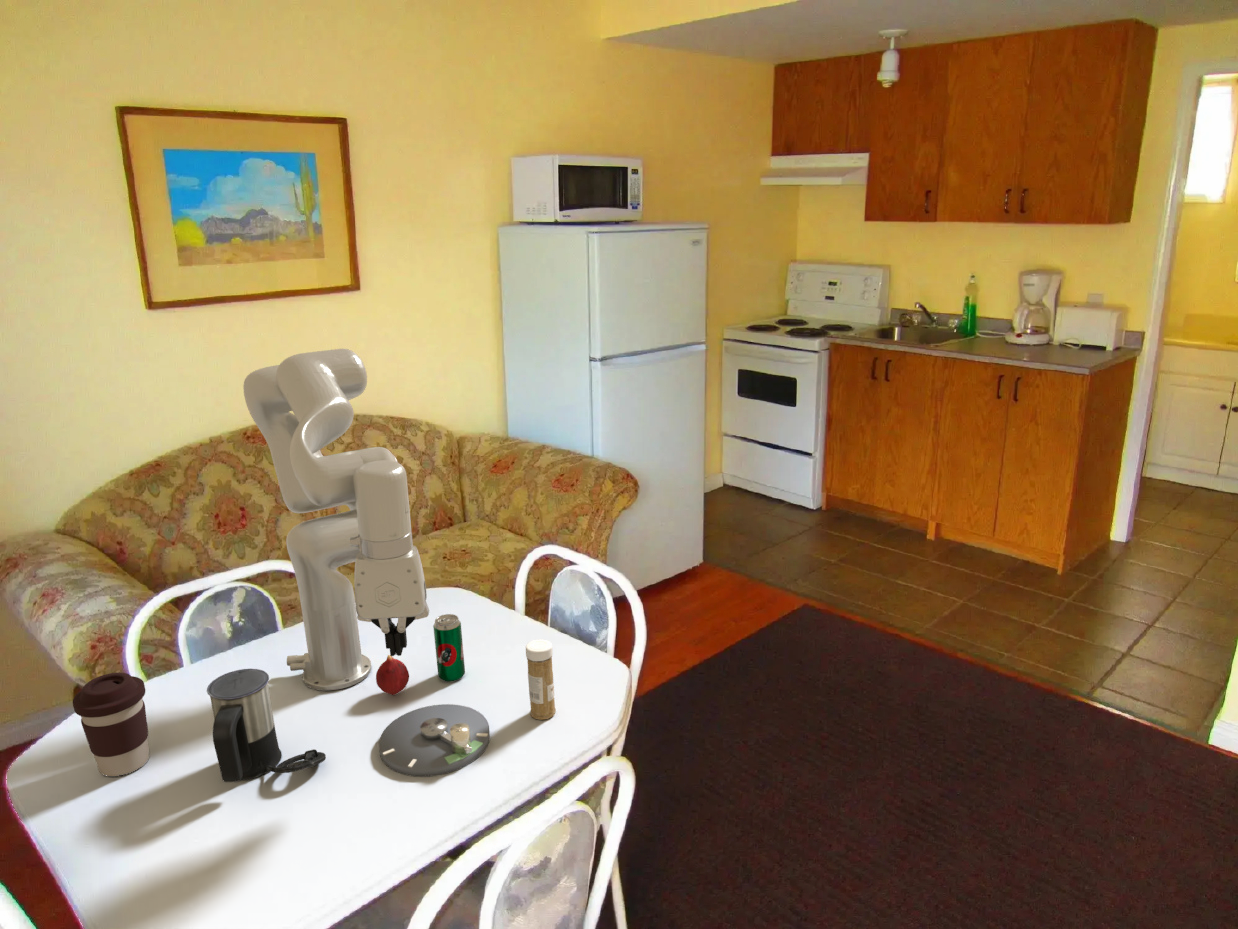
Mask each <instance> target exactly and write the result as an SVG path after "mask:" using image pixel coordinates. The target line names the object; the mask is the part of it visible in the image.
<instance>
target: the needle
mask: <svg viewBox="0 0 1238 929" xmlns="http://www.w3.org/2000/svg"><path fill="white" fill-rule="evenodd" d="M420 729H421V736H422V737H423V738H425V739H428V740H435V739H439V738H440V739H442V740H444V741H445V742H447V743H449V744H450V745H452V751H453V752H454V753H458V754H461V753H465V754H468V753H470V752H471V751H472V747H471V743H470V732H469V726H468V725H467V724H465V723H458V724H455V725H453V726H452V727H451V728H450V734H451V735H450V734H448V733H447V732H448V725H447V721H446V720H444V719H441V718H432V719H429V720H426V721H425V722H423V723H422V724H421V726H420Z"/></svg>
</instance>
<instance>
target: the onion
mask: <svg viewBox="0 0 1238 929" xmlns="http://www.w3.org/2000/svg"><path fill="white" fill-rule="evenodd" d="M375 681H376V682H375V683H376V685H377V687H378V688H379V689H380V690H381V691H382V692H383V693H385V694H387V695H391V696H396V695H397V694H399V693H400V692H402V691H403V690H405V689H406V688H407V684H408V682H409V681H410V674H409V670H408V668H407V666H406V665H405V663H403V662H402V661H401V660H399V659H398V658H394V656H390V654H387V657H386V660H385V661H383V662H382V663H381V664H380V665H379V667H378V669H377V671H376V675H375Z"/></svg>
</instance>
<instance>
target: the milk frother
mask: <svg viewBox="0 0 1238 929" xmlns="http://www.w3.org/2000/svg"><path fill="white" fill-rule="evenodd" d="M269 680H270V676H269V673H268V672H266V671H265V670H263V669H258V668H241V669H237V670H233V671H229V672H227V673H224V674H221V675H219V676H218V677H216V678H215V679H213V680H212V681H211V682H210V683H209V684H208V685H207V686H206V687H207V688H206V693H207V695H208V696H209V697H210V698H209V699H210V702H211V703H210V704H211V709H212V715H213V719H214V720H213V727H212V741H213V746H214V750H215V753H216V757H217V758H216V759H217V762H218V767H219V771H220V775H221V778H222V781H223V782H224V783H235V782H239V781H243V780H246V781H247V780H252V779H256V778H257V777H258V778H259V777H261V776H262V775H263V776H264V775H265V774H268V773H270V772H272V773H277V774H287V773H288V774H289V773H294V772H295V773H296V772H299V771H302V770H304V769H305V770H306V769H308V768H309V769H310V768H312V767H315V766H318V765H319V764H322V763H323V762H325V760H326V758H327V757H326V754H325V753H324V752H322V751H318V750H317V749H311V750H310V749H309V750H306V751H304V753H300V754H298V755H294V756H292V757H289V758H288V759H285V760H284V761H282V762H281V760H282V757H283V756H282V750H281V749H280V748H279V747H280V746H279V743H278V736H277V731H276V726H275V720H274V715H273V714H274V713H273V706H272V700H271V694H270V688H269ZM302 760H303V762H302V763H299V764H294V763H297V762H299V761H302ZM291 764H294V765H291Z"/></svg>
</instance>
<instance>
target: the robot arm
mask: <svg viewBox="0 0 1238 929" xmlns="http://www.w3.org/2000/svg"><path fill="white" fill-rule="evenodd" d="M366 369H367V368H366V367H365V364H364V362H363V360H362V359H361V357H360V356H359V355H358V354H357V353H356V352H355V351H353V350H351V349H348V348H335V349H328V350H319V351H310V352H308V351H307V352H302V353H297V354H293V355H290V356H288V357H286V358H284V359H283V361H281V362H280V364H278V365H277V364H274V365H270V366H264V367H262V368H259V369H255V370H253V371H251V372H250V373H249V374H248V375H247V376H246V377H245V378H244V381H243V387H242V388H243V396H244V400H245V404H246V407H247V409H248V411H249V414H250V416H251V418H252V420H253V422H254V424H255V425H256V427H257V429H259V431H260V432H261V435H262V436H263V437H264V439H265V442H266V443H267V446H268V449H269V451H270V454H271V460H272V463H273V468H274V471H275V474H276V478H277V481H278V482H277V483H278V487H279V490H280V492H281V496H282V499H283V502H284V504H285V506H286V507H287V509H288V510H289V511H290V512H292V513H294V514H306V513H311V512H316V511H317V512H318V511H322V510H327V509H332V508H335V507H340V506H347V507H348V508H349V510H348V511H342V512H340V513H335V514H329V515H324V516H320V517H315V518H312V519H308V520H304V521H302V522H300V523H298V524H296V525H294V526H293V527H292V528H291V529H290V530H289V531H288V533H287V535H286V540H285V542H286V549H287V553H288V556H289V559H290V562H291V565H292V568H293V571H294V575H295V579H296V583H297V589H298V594H299V601H300V608H301V613H302V620H303V628H304V633H305V641H306V648H307V652H304V654H303V655H302V654H301V655H297V654H296V655H295V654H294V655H292V654H291V655H288V656H287V657H286V665H287V667H289V670H290V671H291V672H292V671H293V672H294V671H303V672H302V681H303V684H305V686H306V687H308V688H310V689H312V690H315V691H327V692H328V691H337V690H342V689H343V690H344V689H346V688H350V687H352V686H354V685H357V684H358V683H360V682H361V681H364V679H365V678H367V677H368V676H369V675H370V673H371V671H372V661H371V660H370V658H369V657H368V656H366V655H364V654H362V648H361V647H362V646H361V640H360V633H359V632H360V630H359V624H358V621H361V622H367V623H372V624H374V625H375V626H376V627H378V629H380V630H381V632H382V633H383V634H384V641H385V648H386V649H387V650H388V649H389V655H390V656H392V657H395V656H398V657H401V656H402V654H403V650H404V648H405V649H406V648H407V646H408V639H407V638H408V637H407V628H408V627H409V626H410V625H411V624H412V623H414V622H415V621H416V620H421V619H424V618H428V617H429V615H430V614H429V613H430V609H429V605H428V604H427V587H426V585H427V584H426V580H425V579H426V578H425V573H424V568H423V564H422V560H421V557H420V556H421V555H420V553H419V550H418V548H417V546H416V545H413V534H412V523H411V522H412V521H411V511H410V500H409V499H410V498H409V488H408V475H407V471H406V468H405V467H404V466H403V465H402V464H401V463H399V461H398V459H397V458H396V456H395V455H394V454H393V453H392V452H391V451H390V450H389V449H388V448H386V447H382V446H375V447H374V446H373V447H368V448H367V447H366V448H363V449H356V450H350V451H344V452H339V453H334V454H330V455H323V454H322V452H321V450H322V449H323V448H325V447H327V446H328V445H330V444H331V443H333V442H334V441H336V440H338V439H339V438H340V437H342V436H343V435H344V434H345V433H346V432H347V431H348V430H349V428H350V427H351V425H352V424H353V420H354V416H355V415H354V413H355V411H354V408H353V405H352V404H351V402H350V400H353V399H356V398H357V397H359V396H361V395H362V394H364V393H365V390H366V389H367V388H366V387H367V384H368V375H367V370H366ZM292 412H293V413H292ZM352 563H354V587H353V584H352V582H351V581H350V579H349V578H347V576H346V575H344V574H343V573H342V572H340V571H338V570H337V569H338V568H339V567H341V566H345V565H348V564H352ZM393 619H397V623H396V624H395V623H394V622H393Z"/></svg>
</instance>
